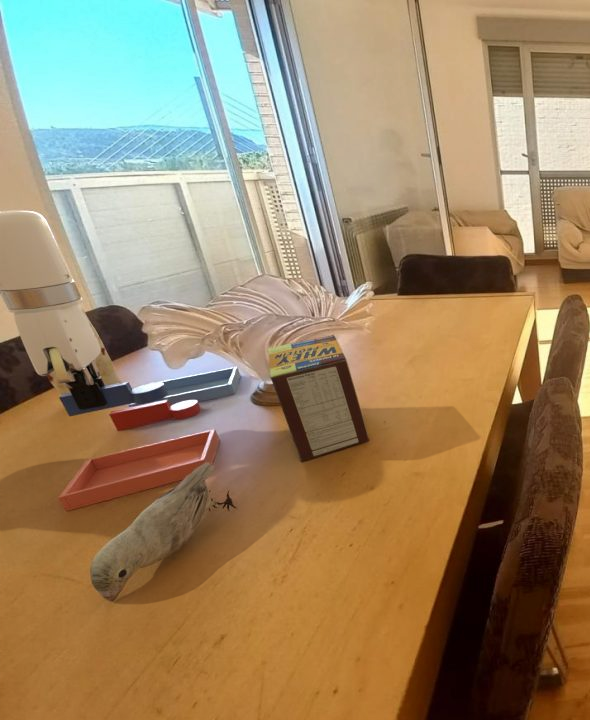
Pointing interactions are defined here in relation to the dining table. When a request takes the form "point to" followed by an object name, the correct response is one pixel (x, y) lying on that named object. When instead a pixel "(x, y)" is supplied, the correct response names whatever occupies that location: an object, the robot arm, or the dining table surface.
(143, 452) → the red tray
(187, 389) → the blue tray
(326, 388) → the protein box
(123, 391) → the blue spoon
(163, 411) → the red spoon
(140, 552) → the decorative bird
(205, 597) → the dining table surface
